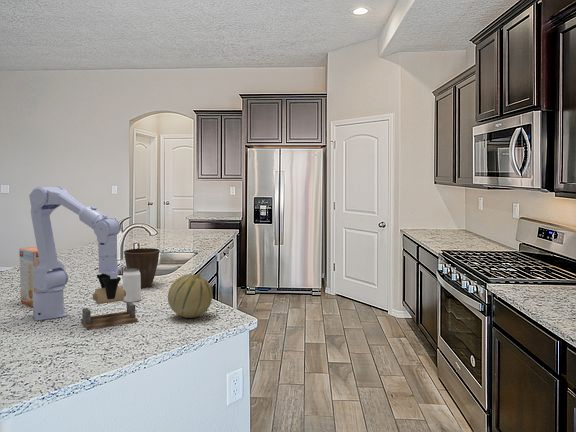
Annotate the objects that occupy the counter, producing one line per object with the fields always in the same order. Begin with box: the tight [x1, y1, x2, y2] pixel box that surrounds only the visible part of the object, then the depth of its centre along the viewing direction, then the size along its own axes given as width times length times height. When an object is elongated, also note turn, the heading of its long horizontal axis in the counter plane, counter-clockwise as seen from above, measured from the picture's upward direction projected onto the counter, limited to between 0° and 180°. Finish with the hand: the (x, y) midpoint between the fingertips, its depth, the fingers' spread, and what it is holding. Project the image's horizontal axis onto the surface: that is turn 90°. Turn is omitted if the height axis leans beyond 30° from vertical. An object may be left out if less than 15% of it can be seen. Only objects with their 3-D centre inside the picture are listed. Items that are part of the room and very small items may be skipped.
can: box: [122, 268, 142, 303], centre depth 186 cm, size 6×6×12 cm
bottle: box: [92, 285, 126, 305], centre depth 158 cm, size 10×5×5 cm, turn 124°
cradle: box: [80, 302, 139, 330], centre depth 158 cm, size 16×10×5 cm, turn 124°
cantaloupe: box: [167, 273, 213, 319], centre depth 164 cm, size 15×15×15 cm
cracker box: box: [18, 246, 50, 308], centre depth 180 cm, size 14×6×21 cm, turn 47°
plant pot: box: [123, 247, 160, 289], centre depth 211 cm, size 15×15×16 cm
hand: (108, 297), depth 157 cm, fingers closed on bottle, 5 cm apart
